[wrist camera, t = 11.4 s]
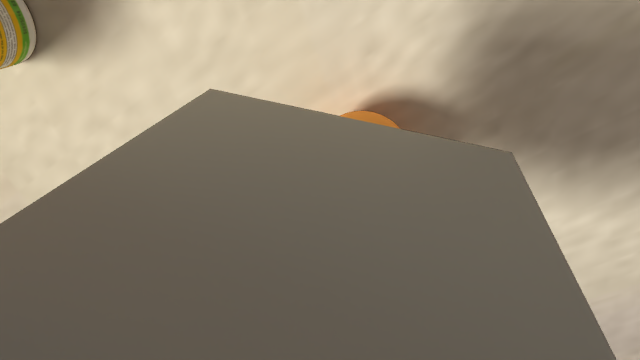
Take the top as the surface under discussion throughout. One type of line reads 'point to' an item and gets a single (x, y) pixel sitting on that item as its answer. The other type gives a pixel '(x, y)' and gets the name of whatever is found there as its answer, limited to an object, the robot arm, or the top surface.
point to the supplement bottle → (15, 33)
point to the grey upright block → (290, 249)
